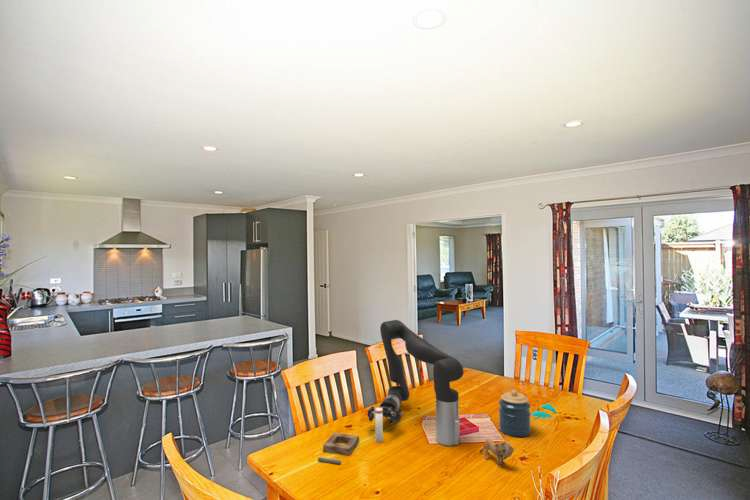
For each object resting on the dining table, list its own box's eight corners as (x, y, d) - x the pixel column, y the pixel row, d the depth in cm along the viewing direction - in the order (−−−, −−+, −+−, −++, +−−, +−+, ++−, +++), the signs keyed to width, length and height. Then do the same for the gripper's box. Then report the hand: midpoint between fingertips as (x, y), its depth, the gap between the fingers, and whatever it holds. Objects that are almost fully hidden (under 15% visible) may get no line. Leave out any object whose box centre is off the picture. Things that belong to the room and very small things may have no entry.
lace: (341, 463, 140) (341, 460, 140) (340, 465, 139) (340, 461, 139) (318, 459, 143) (318, 456, 143) (317, 461, 142) (317, 458, 142)
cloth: (543, 425, 173) (543, 420, 173) (517, 414, 184) (517, 409, 184) (575, 412, 187) (575, 407, 187) (549, 403, 198) (549, 398, 199)
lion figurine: (516, 467, 137) (516, 442, 137) (507, 472, 134) (507, 446, 134) (483, 450, 149) (483, 427, 149) (474, 454, 146) (474, 431, 146)
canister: (531, 427, 169) (531, 387, 169) (530, 440, 157) (529, 397, 158) (500, 422, 174) (500, 383, 175) (497, 434, 163) (496, 392, 163)
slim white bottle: (383, 439, 159) (383, 407, 159) (381, 443, 156) (381, 410, 156) (376, 438, 159) (376, 407, 160) (374, 441, 156) (374, 410, 157)
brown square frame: (359, 442, 156) (359, 436, 156) (349, 455, 146) (349, 449, 146) (334, 438, 160) (334, 432, 160) (323, 451, 149) (323, 445, 149)
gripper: (375, 396, 177) (363, 409, 161) (405, 399, 173) (396, 413, 157) (375, 412, 177) (364, 427, 161) (405, 415, 173) (396, 431, 157)
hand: (380, 420), depth 159 cm, fingers open, 8 cm apart
